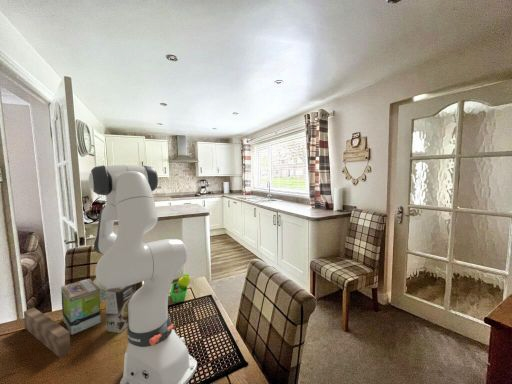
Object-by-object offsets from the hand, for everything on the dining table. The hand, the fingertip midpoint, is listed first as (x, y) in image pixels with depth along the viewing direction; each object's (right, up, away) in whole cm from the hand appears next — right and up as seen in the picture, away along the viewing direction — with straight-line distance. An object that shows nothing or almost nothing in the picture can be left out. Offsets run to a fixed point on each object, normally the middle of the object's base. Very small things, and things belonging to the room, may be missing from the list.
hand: (97, 301), depth 95 cm
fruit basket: (+32, -5, +14) cm, 35 cm away
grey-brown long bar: (-8, -6, -15) cm, 18 cm away
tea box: (-3, -6, -5) cm, 8 cm away
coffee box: (+15, -6, -7) cm, 18 cm away
